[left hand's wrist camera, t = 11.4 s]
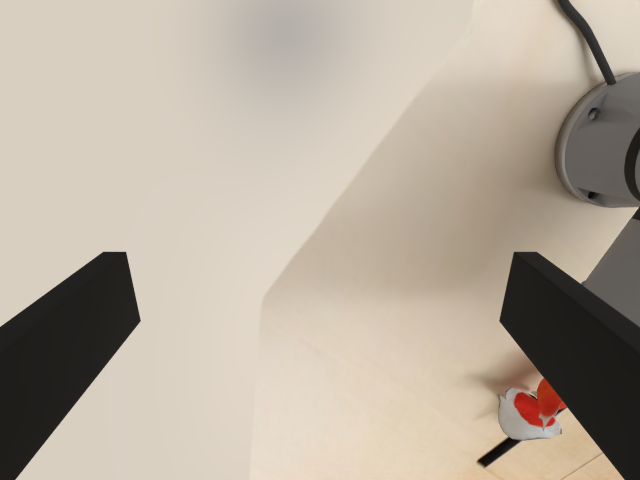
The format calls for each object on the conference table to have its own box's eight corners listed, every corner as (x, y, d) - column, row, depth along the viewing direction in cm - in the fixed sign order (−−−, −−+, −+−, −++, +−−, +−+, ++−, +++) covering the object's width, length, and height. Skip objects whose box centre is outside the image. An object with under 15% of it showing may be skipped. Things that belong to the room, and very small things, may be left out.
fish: (620, 401, 53) (628, 458, 45) (516, 418, 63) (509, 467, 55) (575, 340, 53) (575, 387, 46) (479, 366, 63) (466, 408, 56)
